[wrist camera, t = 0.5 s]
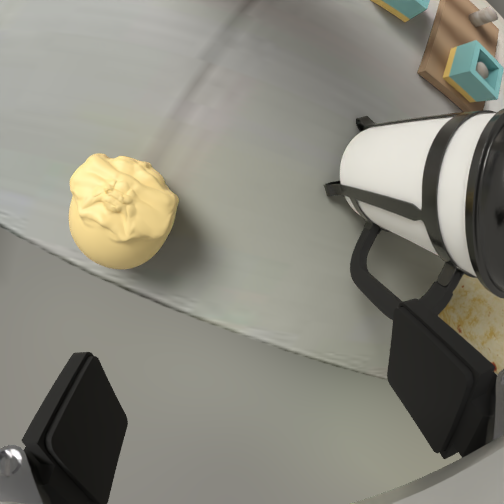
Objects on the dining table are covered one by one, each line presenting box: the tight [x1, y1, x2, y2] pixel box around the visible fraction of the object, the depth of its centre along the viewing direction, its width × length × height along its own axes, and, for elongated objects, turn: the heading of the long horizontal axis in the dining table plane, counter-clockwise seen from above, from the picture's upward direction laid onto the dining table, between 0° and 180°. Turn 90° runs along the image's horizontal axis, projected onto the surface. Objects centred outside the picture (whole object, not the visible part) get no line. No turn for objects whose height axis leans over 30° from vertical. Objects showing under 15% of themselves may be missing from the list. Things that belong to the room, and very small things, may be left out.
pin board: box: [418, 0, 499, 112], centre depth 29 cm, size 21×12×7 cm, turn 156°
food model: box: [438, 274, 504, 374], centre depth 34 cm, size 10×7×20 cm
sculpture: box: [69, 154, 179, 269], centre depth 31 cm, size 11×12×11 cm
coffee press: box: [324, 109, 504, 320], centre depth 23 cm, size 17×16×30 cm
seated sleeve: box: [443, 40, 503, 102], centre depth 29 cm, size 6×6×6 cm
